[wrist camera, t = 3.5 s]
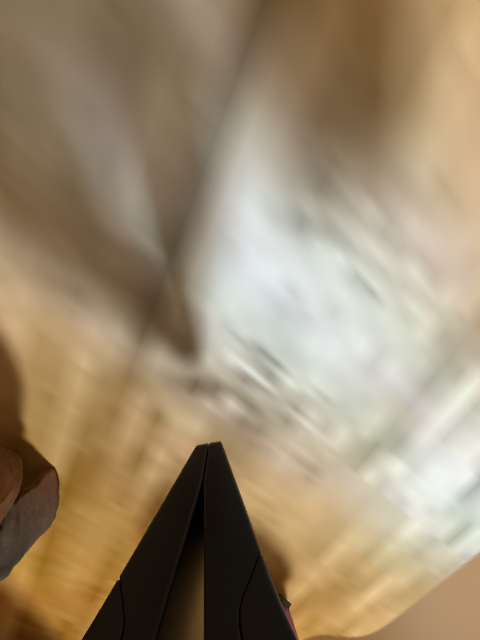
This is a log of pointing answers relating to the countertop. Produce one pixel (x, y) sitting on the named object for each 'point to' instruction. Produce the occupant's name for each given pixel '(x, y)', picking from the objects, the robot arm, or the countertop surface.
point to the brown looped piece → (23, 509)
